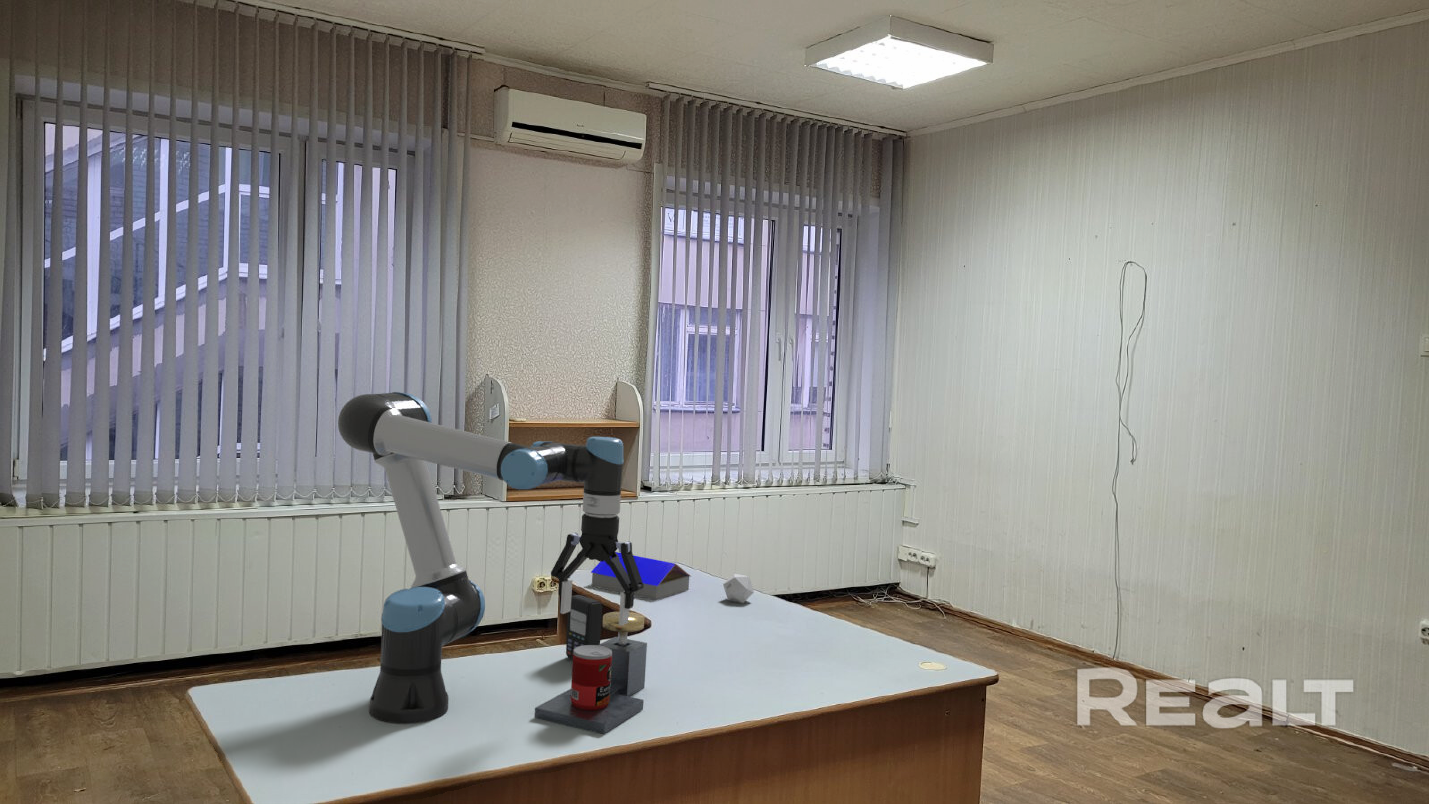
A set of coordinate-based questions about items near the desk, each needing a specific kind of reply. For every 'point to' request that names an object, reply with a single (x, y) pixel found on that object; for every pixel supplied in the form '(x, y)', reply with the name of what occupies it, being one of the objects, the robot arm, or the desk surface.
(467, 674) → the desk surface
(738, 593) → the die
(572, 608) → the card reader
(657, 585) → the house
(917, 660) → the desk surface
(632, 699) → the grey stepped stand
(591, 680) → the canned food
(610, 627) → the door knob
